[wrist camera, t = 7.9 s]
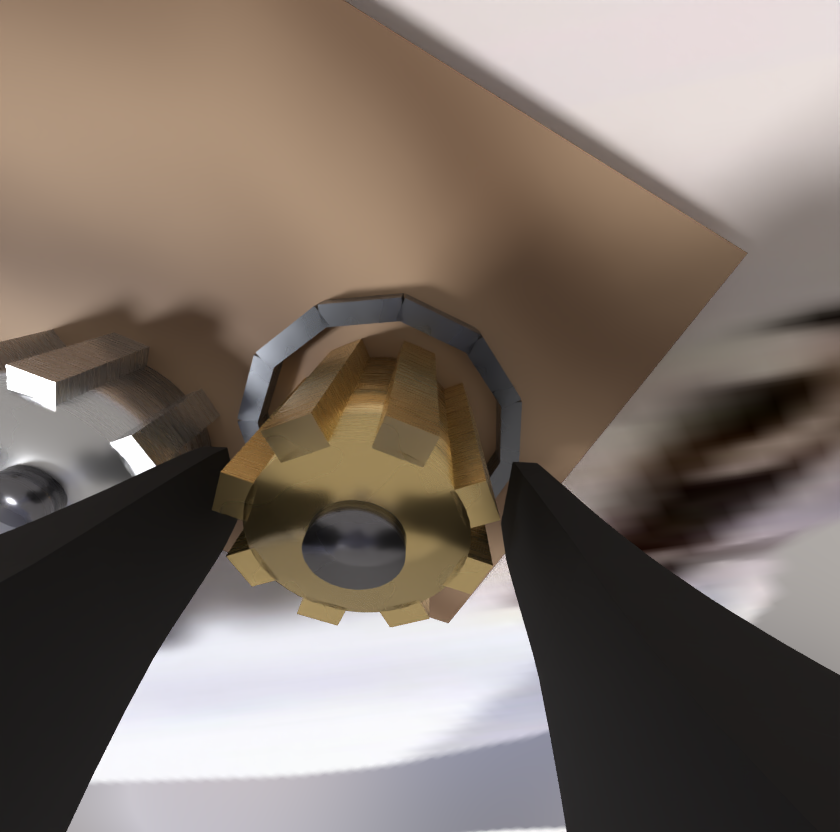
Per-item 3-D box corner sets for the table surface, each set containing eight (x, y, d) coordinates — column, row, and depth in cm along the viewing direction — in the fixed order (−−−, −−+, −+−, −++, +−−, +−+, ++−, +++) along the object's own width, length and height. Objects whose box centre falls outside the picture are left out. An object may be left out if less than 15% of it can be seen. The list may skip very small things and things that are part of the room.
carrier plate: (447, 603, 17) (448, 623, 16) (13, 458, 14) (-16, 473, 13) (719, 252, 10) (747, 253, 9) (-30, -209, 7) (-99, -277, 6)
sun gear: (210, 539, 14) (145, 627, 11) (11, 474, 13) (-128, 552, 10) (250, 387, 11) (178, 447, 8) (-2, 285, 10) (-208, 307, 7)
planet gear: (427, 512, 13) (427, 669, 8) (279, 459, 12) (183, 600, 8) (504, 383, 11) (563, 498, 6) (327, 306, 10) (233, 367, 5)
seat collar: (441, 555, 14) (442, 572, 14) (229, 479, 13) (217, 493, 12) (568, 373, 11) (579, 382, 10) (295, 238, 9) (284, 238, 9)
